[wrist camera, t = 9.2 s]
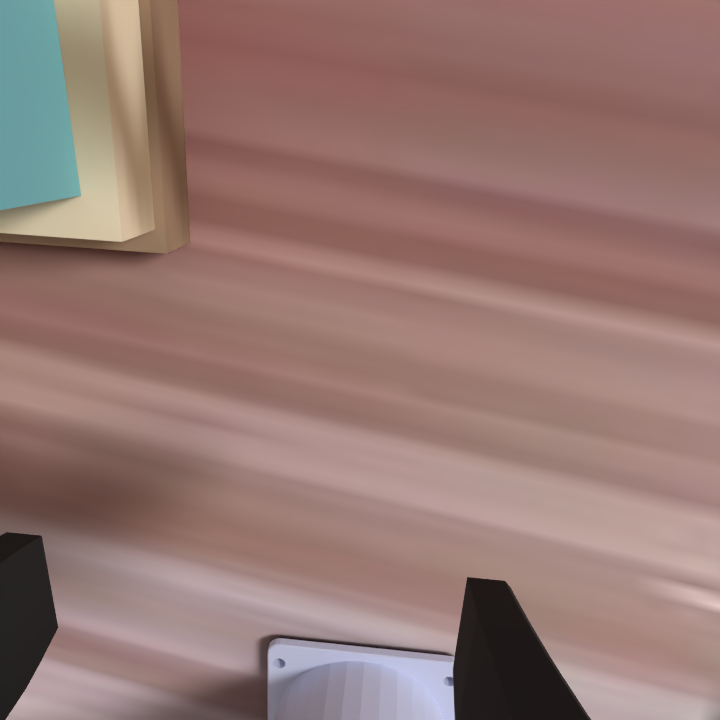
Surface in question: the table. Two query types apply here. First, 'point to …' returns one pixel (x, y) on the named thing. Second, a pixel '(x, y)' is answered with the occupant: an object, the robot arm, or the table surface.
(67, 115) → the teal block
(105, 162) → the maple top block
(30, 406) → the table surface
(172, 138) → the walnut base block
